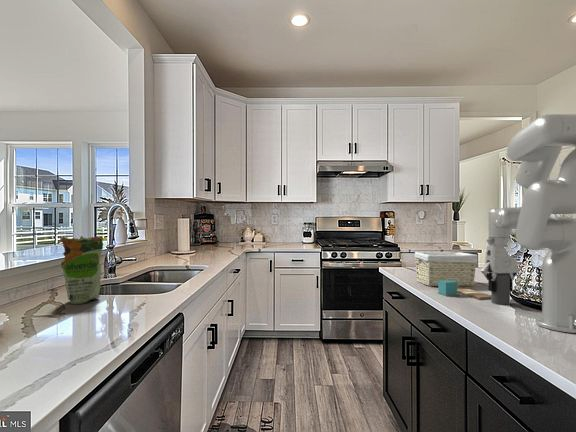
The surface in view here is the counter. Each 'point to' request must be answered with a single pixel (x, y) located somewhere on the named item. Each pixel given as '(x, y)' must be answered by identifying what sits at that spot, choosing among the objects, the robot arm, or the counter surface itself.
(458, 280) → the storage basket
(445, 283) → the cube
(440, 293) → the mat
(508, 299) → the bottle
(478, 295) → the board
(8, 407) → the counter surface
